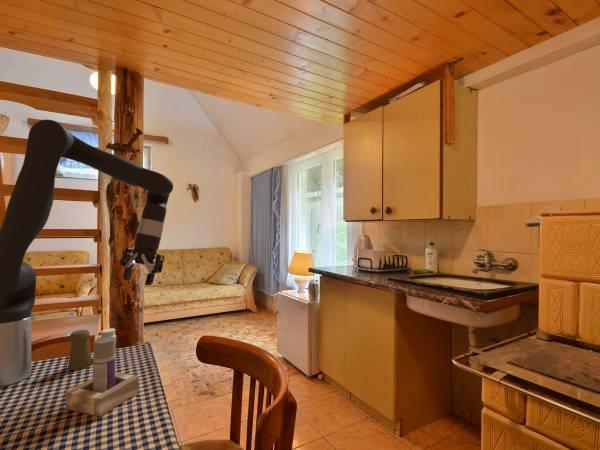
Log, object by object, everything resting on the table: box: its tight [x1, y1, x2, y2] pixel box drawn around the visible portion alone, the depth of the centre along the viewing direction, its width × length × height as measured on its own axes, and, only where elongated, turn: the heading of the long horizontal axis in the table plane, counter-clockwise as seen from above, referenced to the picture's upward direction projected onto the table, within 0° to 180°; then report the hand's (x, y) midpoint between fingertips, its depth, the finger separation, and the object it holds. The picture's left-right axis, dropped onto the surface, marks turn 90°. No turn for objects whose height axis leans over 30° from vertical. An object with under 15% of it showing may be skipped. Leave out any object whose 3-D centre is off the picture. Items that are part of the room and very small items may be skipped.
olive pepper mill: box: [67, 329, 92, 371], centre depth 95 cm, size 6×6×11 cm
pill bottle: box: [99, 327, 117, 355], centre depth 103 cm, size 5×5×8 cm
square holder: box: [64, 371, 140, 417], centre depth 77 cm, size 11×11×4 cm
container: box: [92, 337, 116, 393], centre depth 77 cm, size 5×5×15 cm
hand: (137, 282), depth 99 cm, fingers open, 8 cm apart
